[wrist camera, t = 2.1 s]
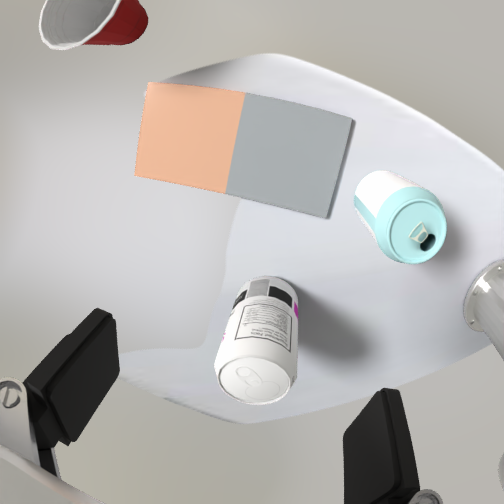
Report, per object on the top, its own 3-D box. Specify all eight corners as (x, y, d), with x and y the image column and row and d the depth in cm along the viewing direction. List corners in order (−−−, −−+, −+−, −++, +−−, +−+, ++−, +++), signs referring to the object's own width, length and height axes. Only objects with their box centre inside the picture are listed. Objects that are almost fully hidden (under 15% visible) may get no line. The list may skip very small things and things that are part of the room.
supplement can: (309, 308, 40) (312, 392, 26) (259, 332, 43) (243, 415, 29) (276, 262, 38) (265, 339, 24) (225, 291, 41) (193, 369, 27)
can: (410, 171, 31) (458, 194, 20) (404, 228, 34) (444, 271, 23) (354, 167, 32) (384, 187, 21) (351, 226, 35) (375, 271, 24)
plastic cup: (136, 75, 30) (77, 63, 20) (84, 48, 29) (25, 37, 18) (185, 6, 26) (142, -34, 15) (126, -15, 25) (76, -45, 14)
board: (351, 118, 30) (352, 118, 29) (325, 216, 35) (325, 218, 34) (150, 82, 31) (148, 82, 30) (136, 174, 36) (134, 175, 35)
